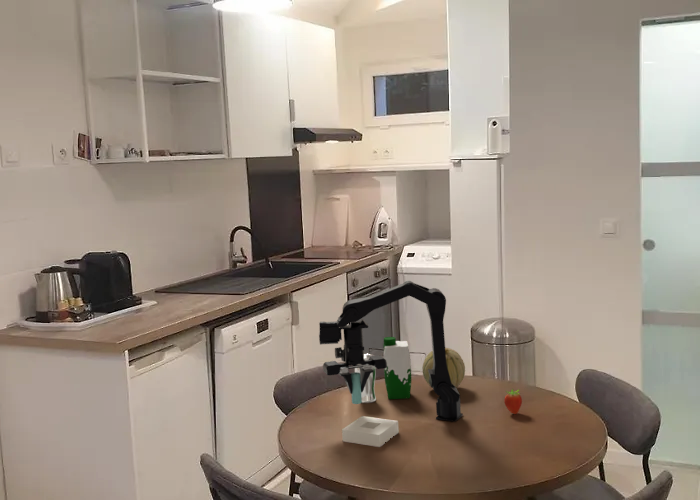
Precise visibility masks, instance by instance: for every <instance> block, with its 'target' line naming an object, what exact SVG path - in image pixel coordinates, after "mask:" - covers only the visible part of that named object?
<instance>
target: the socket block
mask: <svg viewBox="0 0 700 500" xmlns="http://www.w3.org/2000/svg"><path fill="white" fill-rule="evenodd" d="M399 431H400V430H399V420H393V419H389V418H388V419H386V418H378V417H373V416H364V415H361V416H360V417H358V418H357V419H355V420H354V421H352V422H351V423H350V424H348V425H346V426H345V427H344V428H342V429H341V433H342V435H341V436H342V437H341V438H342V442H344V443H350V444H351V443H352V444H359V445H362V446H363V445H364V446H371V447H376V448H381V447H383V445H384V444H386V443H387V442H388V441H390V438H391V439H392V438H393V436H394V437H395V436H396V435H398V434H399ZM385 442H386V443H385Z"/></svg>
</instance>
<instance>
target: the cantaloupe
mask: <svg viewBox="0 0 700 500" xmlns="http://www.w3.org/2000/svg"><path fill="white" fill-rule="evenodd" d="M445 351H446V365H447V368H448V372H449V375H450V379H451V383H452V384H453V385H454V386H455V387H456V388H457V387H459V386H460V385H461V383H462V382H463V380H464V378H465V374H466V366H465V362H464V359H463V358H462V356H461V355H460V353H459V352H458V351H456V350H454V349H452V348H449V347H445ZM432 368H433V350H431V351H430V352H428V353H427V355H426V357H425V358H424V360H423V364H422V376H423V379H424V381H425V382H426V384H428V385H429V386H430V383H429V372H428V369H432ZM430 387H431V386H430ZM432 389H433V387H432Z"/></svg>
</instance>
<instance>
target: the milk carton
mask: <svg viewBox="0 0 700 500" xmlns="http://www.w3.org/2000/svg"><path fill="white" fill-rule="evenodd" d="M408 343H409V342H408V341H407V340H396V337H395V336H386V337H383V344H382V346H383V358H384V359H385V360H386V362H387V368H383V373H384V374H383V375H384V385H385V390H386V393H387V399H388V400H398V399H399V400H401V399H402V400H403V399H410V398H411V390H412V389H411V388H412V365H411V363H412V360H411V352H410V348H409V344H408Z"/></svg>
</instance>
